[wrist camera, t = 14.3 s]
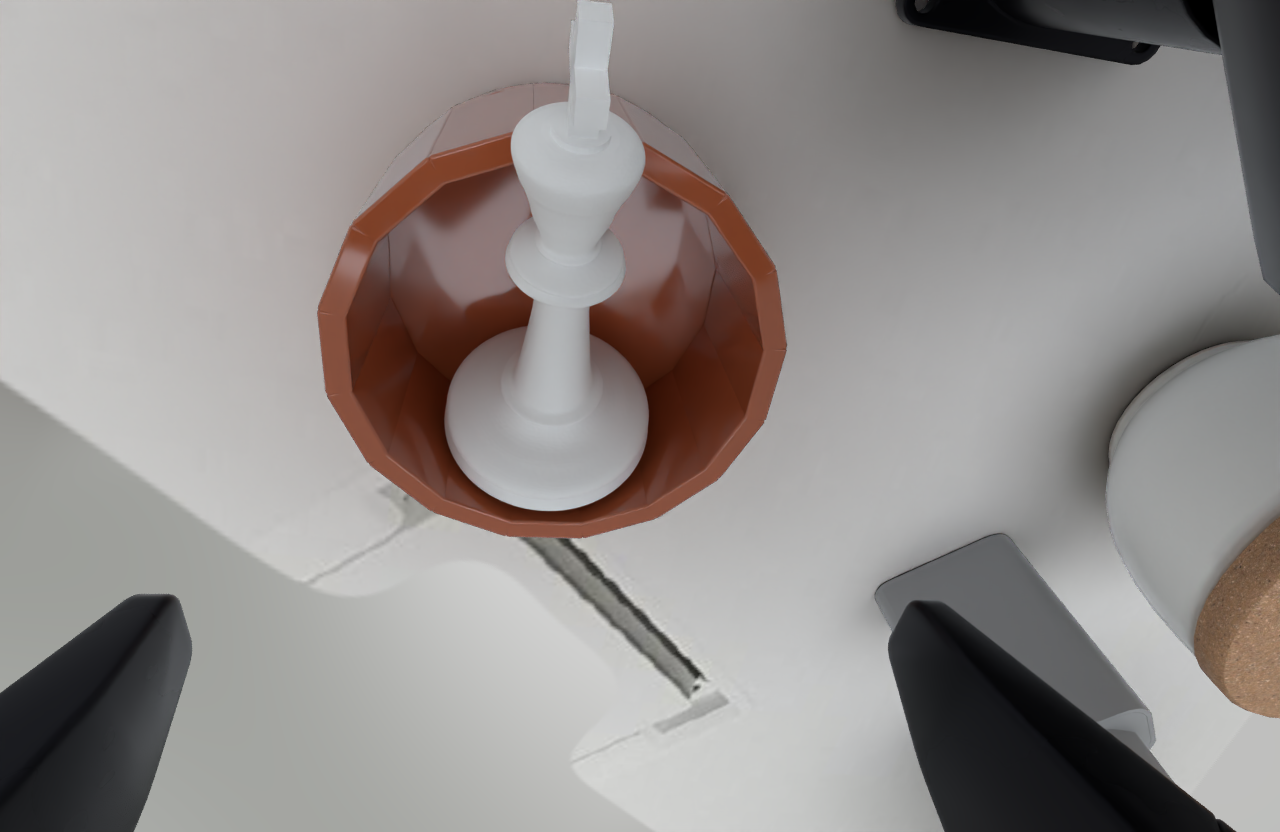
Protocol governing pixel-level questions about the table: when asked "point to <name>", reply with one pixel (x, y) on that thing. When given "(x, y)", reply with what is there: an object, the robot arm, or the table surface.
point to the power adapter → (1027, 631)
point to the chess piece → (559, 307)
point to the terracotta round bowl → (492, 303)
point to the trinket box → (1208, 511)
